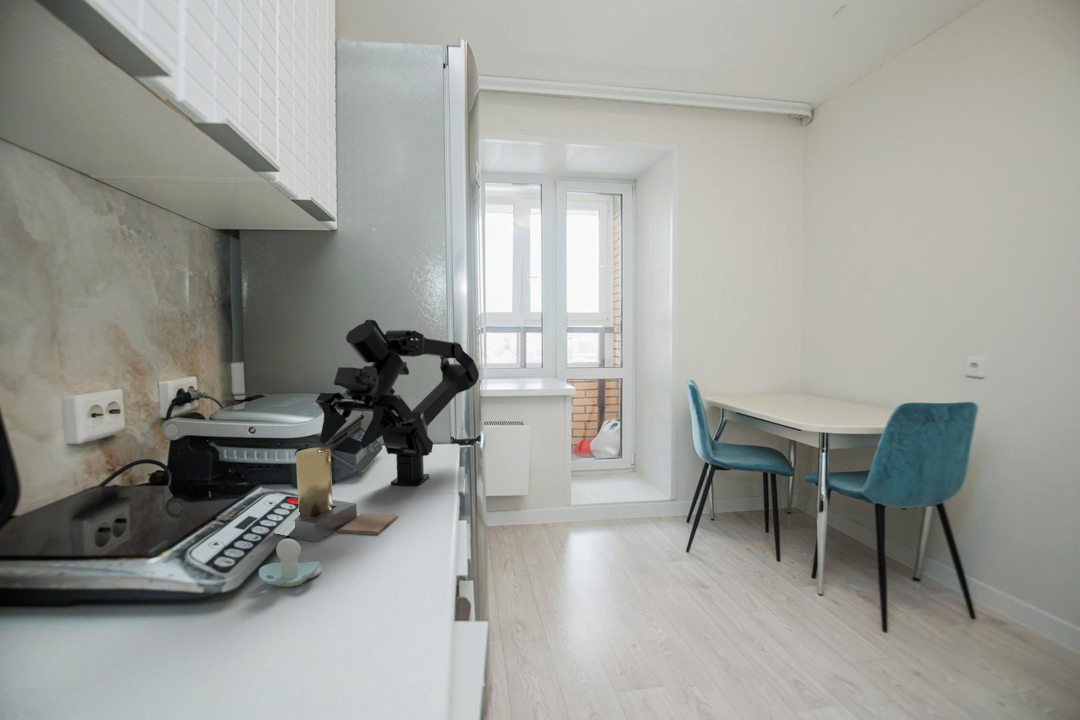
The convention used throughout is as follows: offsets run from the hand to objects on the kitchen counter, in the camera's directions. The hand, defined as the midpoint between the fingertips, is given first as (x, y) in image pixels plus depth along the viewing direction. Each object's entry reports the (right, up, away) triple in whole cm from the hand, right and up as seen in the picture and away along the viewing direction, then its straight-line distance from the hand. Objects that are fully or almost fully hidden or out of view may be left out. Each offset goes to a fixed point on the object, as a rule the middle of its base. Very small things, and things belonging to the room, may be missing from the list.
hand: (341, 445), depth 84 cm
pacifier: (+3, -14, -21) cm, 26 cm away
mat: (+7, -13, -4) cm, 15 cm away
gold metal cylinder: (-2, -13, -5) cm, 14 cm away
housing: (-2, -13, -5) cm, 14 cm away
